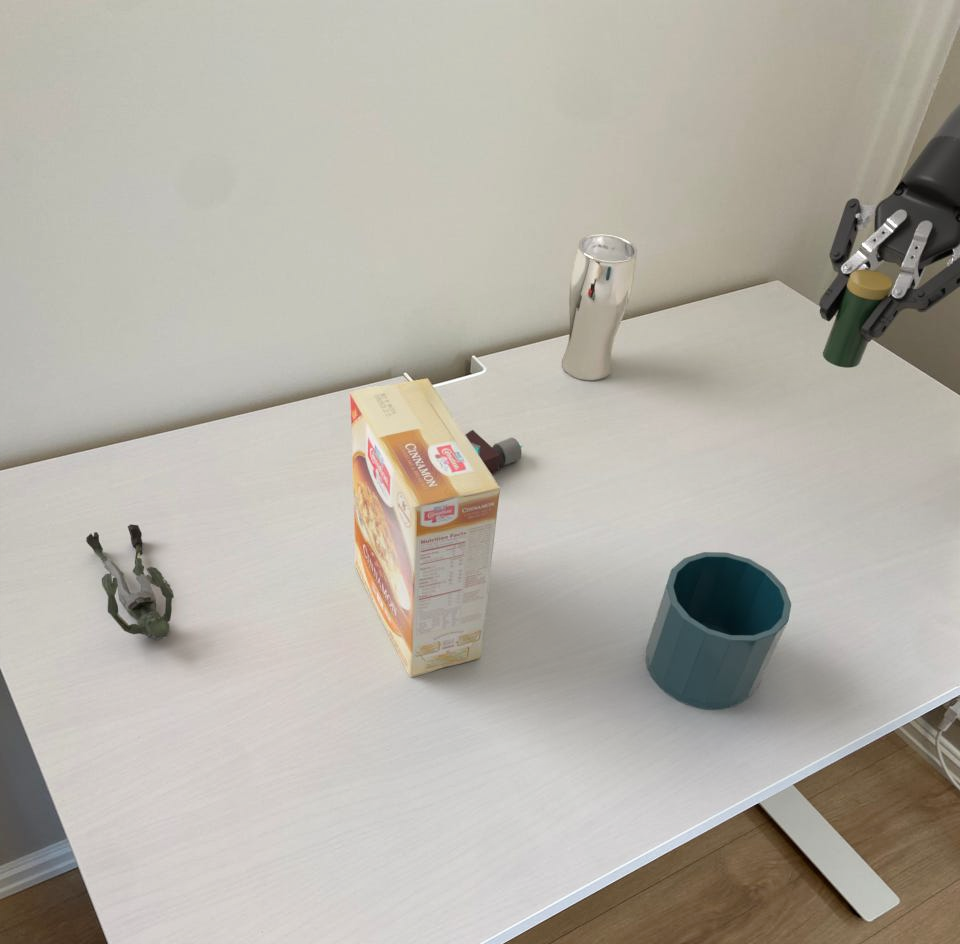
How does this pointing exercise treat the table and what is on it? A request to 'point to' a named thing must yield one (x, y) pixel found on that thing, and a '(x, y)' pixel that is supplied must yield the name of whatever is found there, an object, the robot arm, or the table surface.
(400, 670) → the table surface
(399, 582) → the coffeecake box
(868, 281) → the tea tin
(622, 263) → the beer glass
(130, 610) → the zombie figurine
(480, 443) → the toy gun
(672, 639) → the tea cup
